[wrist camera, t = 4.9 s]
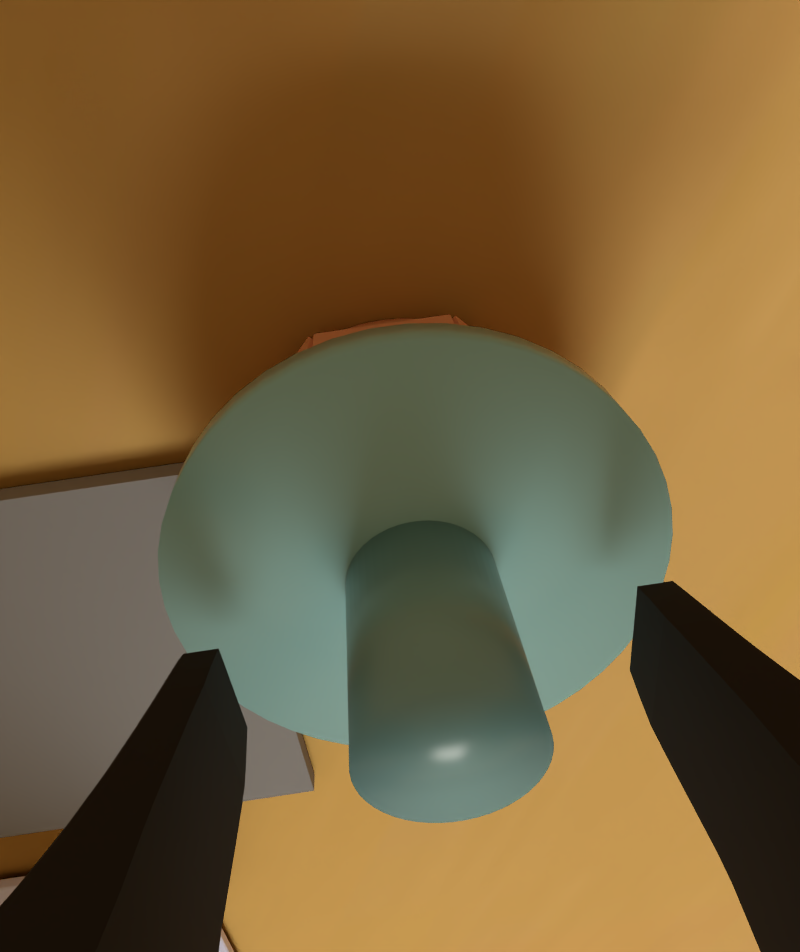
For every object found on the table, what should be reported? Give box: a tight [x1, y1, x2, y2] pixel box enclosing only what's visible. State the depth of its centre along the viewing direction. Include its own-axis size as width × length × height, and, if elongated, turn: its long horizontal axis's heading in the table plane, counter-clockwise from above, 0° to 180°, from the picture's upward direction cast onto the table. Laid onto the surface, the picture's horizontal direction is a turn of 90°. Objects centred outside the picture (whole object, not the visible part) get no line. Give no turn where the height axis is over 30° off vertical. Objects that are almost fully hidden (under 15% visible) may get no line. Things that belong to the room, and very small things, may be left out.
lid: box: [158, 323, 673, 823], centre depth 12 cm, size 10×10×5 cm
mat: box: [0, 462, 314, 838], centre depth 20 cm, size 13×12×1 cm
